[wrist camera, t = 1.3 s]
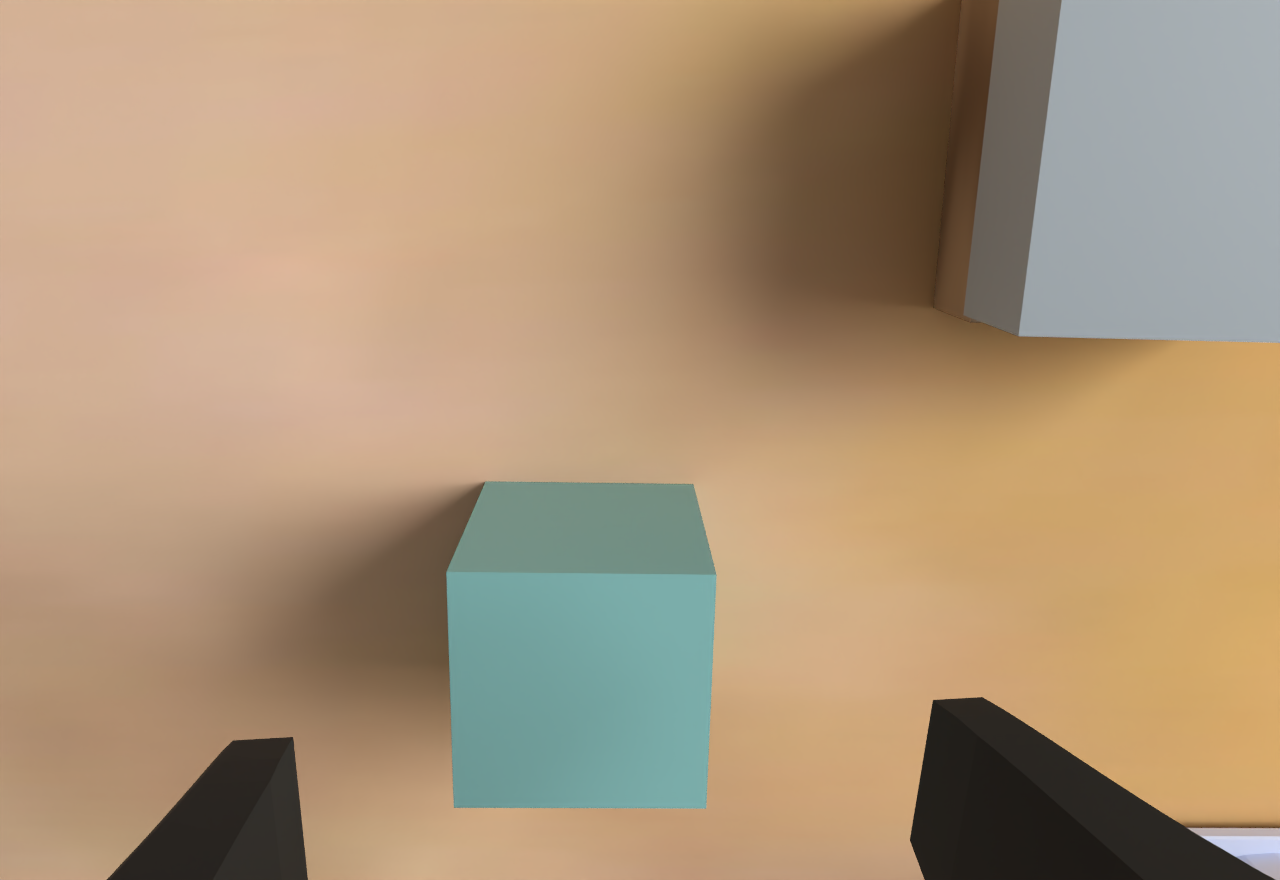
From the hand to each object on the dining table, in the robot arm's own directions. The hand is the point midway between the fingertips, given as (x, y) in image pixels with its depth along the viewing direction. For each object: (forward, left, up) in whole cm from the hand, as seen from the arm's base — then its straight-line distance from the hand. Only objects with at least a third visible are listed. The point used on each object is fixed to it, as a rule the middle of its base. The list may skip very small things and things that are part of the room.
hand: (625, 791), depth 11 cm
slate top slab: (+7, -9, -8) cm, 14 cm away
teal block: (-2, +1, -10) cm, 10 cm away
